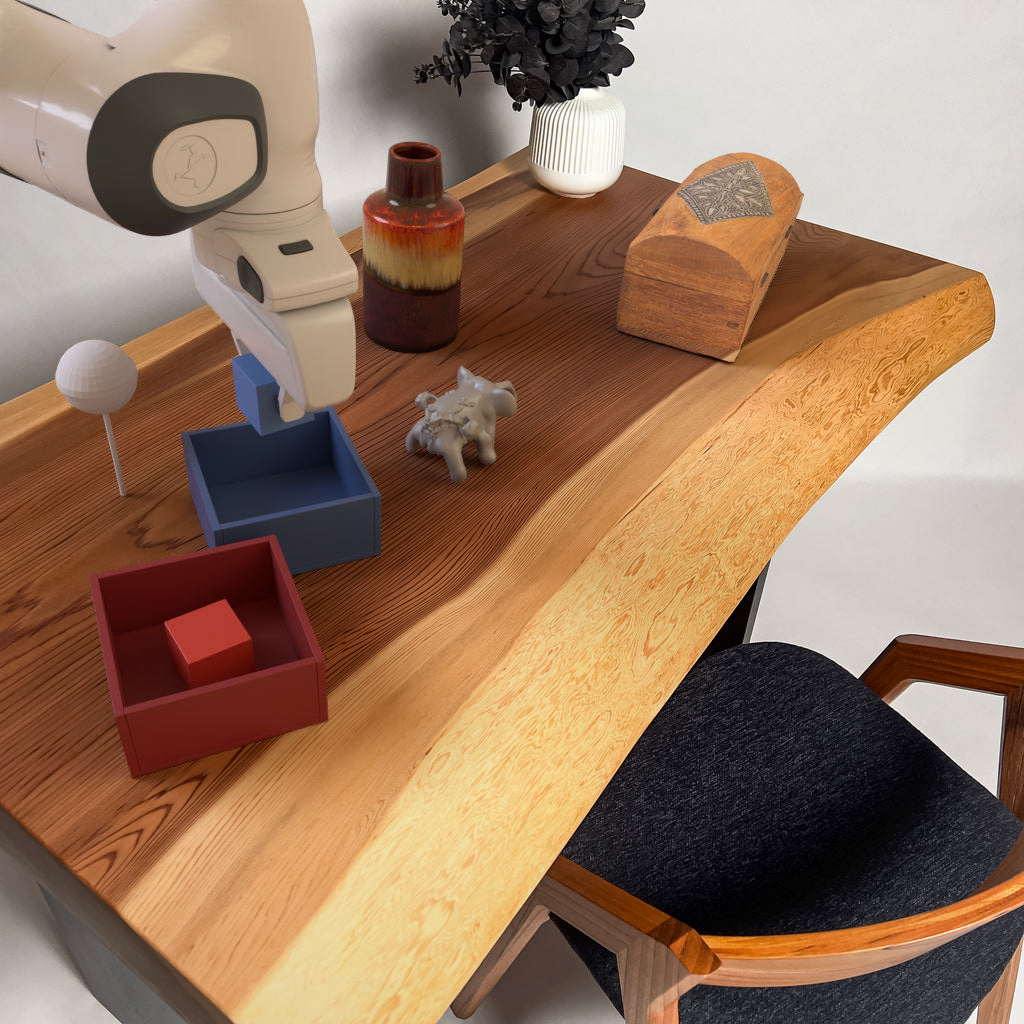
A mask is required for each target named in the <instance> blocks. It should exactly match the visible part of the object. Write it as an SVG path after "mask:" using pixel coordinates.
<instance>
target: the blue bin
mask: <svg viewBox="0 0 1024 1024" xmlns="http://www.w3.org/2000/svg"><path fill="white" fill-rule="evenodd" d="M180 438H181V443H182V449H183V455H184V461H185V467H186V473H187V481H188V485H189V493H190V495H191V499H192V501H193V504H194V508H195V510H196V514H197V517H198V520H199V523H200V527H201V529H202V532H203V536H204V538H205V542H206V545H207V549H210V548H215V547H219V546H224V545H228V544H233V543H237V542H242V541H247V540H251V539H256V538H260V537H265V536H269V535H274V534H275V535H276V538H277V540H278V543H279V545H280V548H281V550H282V553H283V555H284V558H285V560H286V563H287V565H288V568H289V570H290V573H291V575H292V576H295V575H299V574H303V573H307V572H312V571H316V570H320V569H321V570H322V569H324V568H329V567H333V566H336V565H341V564H346V563H350V562H354V561H355V562H356V561H358V560H362V559H368V558H372V557H375V556H379V555H382V495H381V492H380V491H379V489H378V487H377V484H376V483H375V482H374V479H373V478H372V476H371V474H370V472H369V470H368V469H367V466H366V465H365V463H364V461H363V459H362V457H361V455H360V453H359V452H358V449H357V448H356V446H355V444H354V442H353V440H352V438H351V436H350V434H349V433H348V431H347V429H346V428H345V426H344V423H343V422H342V420H341V418H340V416H339V415H338V413H337V411H336V409H335V406H332V407H329V408H325V409H321V410H318V411H314V420H313V421H309V422H306V423H303V424H300V425H296V426H293V427H290V428H287V429H283V430H280V431H277V432H274V433H270V434H267V435H264V436H261V435H260V434H259V433H258V432H257V431H256V429H255V428H254V427H253V426H252V424H251V423H250V422H249V421H248V420H246V421H245V420H244V421H240V422H234V423H228V424H227V423H226V424H222V425H216V426H210V427H204V428H198V429H193V430H188V431H181V432H180Z"/></svg>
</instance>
